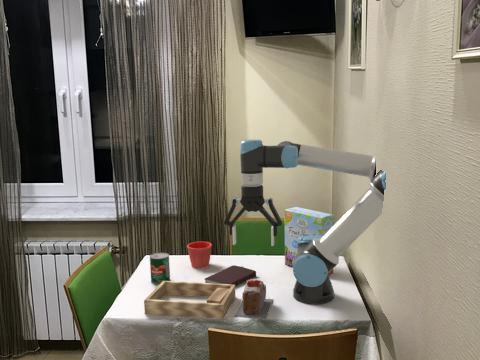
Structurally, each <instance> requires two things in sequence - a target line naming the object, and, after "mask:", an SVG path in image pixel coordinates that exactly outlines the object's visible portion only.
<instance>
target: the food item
mask: <svg viewBox="0 0 480 360" xmlns="http://www.w3.org/2000/svg"><path fill="white" fill-rule="evenodd" d="M241 297H242V298H241V299H242V300H241V302H242V306H243V312H244V314H256V315H259V314H260V313H261V309H262V308H263V304H264V300H265V299H267V298H266V297H267V284H264V281H263V280H260V279H256V278H251V279H249V280H247V281H246V282H245V285H244V289H243V292H242V296H241Z"/></svg>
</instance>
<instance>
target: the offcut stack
mask: <svg viewBox="0 0 480 360" xmlns="http://www.w3.org/2000/svg"><path fill="white" fill-rule="evenodd" d="M228 290H229V289H227V288H217V289H216V290H215V291H214V292H213V294H212V295H211V296H210V297H207V299H206V303H218V304H221V302H222V300H223V299H224V297H225V295H226V294H227V292H228Z"/></svg>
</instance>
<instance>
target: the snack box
mask: <svg viewBox="0 0 480 360" xmlns="http://www.w3.org/2000/svg"><path fill="white" fill-rule="evenodd" d="M283 212H284V213H283V214H284V216H283V217H284V265H285V266H287V267H291V268H293V263H294V261H295V258H296V255H297V252H298V245H297V243H298V238H299V237H301V236H323V235H324V234H325V233H326V232H327V231H328V230H329V229H330V228H331V227H332V226H333V225H334V224H335V214H332V213H327V212H323V211H318V210H314V209H313V210H312V209H309V208H303V207H300V206H299V207H298V206H293V207H291V208H289V207H288V208H286V209H284V210H283ZM333 273H334V268H333V269H332V270H331V271H330V272H329V275H331V274H333Z"/></svg>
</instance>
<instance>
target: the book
mask: <svg viewBox="0 0 480 360" xmlns="http://www.w3.org/2000/svg"><path fill="white" fill-rule="evenodd" d="M255 277H257V271H256V270H254V269H251V268H247V267H244V266H238V265H230V266H227V267H226V268H224V269H222V270H219V271H217V272H216V273H213V274H211V275H209V276H207V277H205V278H204V283H215V284H233V285H235V287H237V286H239V285H241V284H243V283H246V282H247V280H251V279H255Z"/></svg>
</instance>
